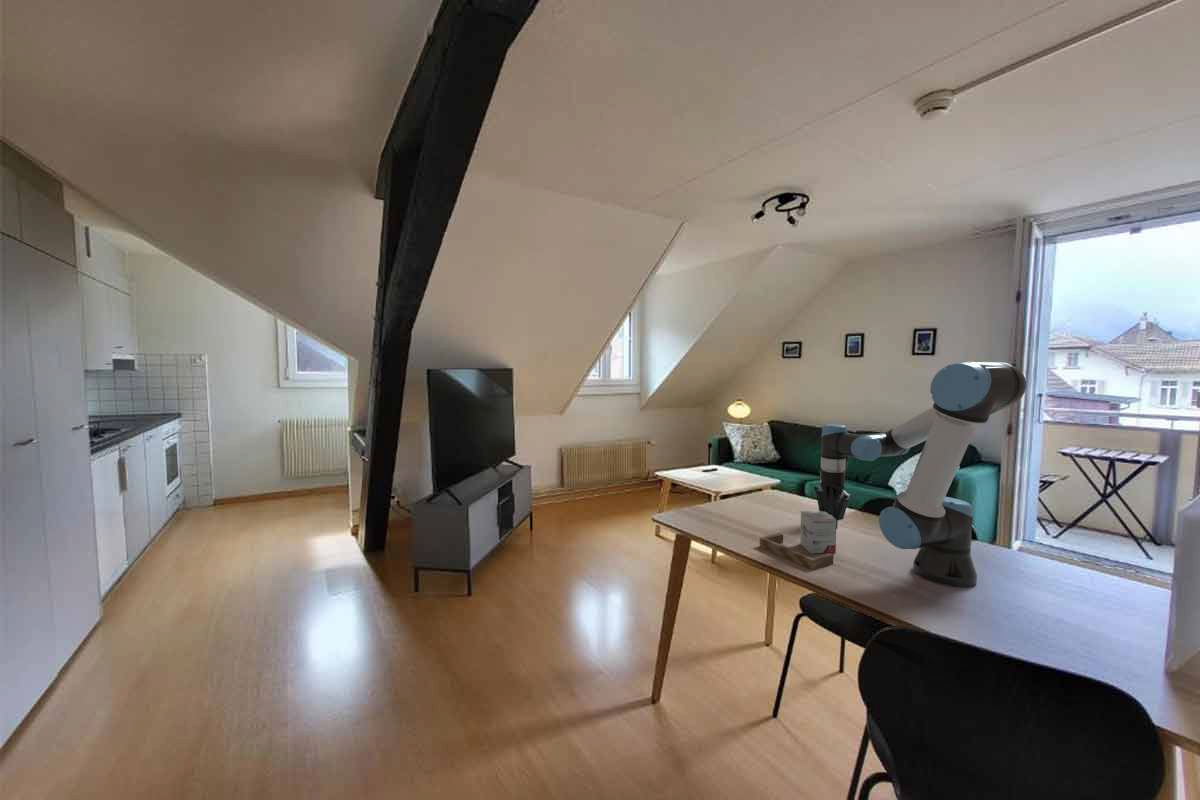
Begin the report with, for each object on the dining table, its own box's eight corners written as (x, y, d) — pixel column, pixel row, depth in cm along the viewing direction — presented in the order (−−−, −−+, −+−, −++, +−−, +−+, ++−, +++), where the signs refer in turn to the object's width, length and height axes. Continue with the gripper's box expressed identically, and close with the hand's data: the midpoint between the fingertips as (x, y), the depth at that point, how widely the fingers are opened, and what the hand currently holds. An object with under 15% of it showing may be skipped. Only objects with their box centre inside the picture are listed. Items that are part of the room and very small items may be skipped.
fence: (833, 563, 148) (833, 554, 148) (812, 570, 144) (812, 560, 144) (779, 541, 167) (779, 533, 167) (759, 546, 163) (759, 537, 162)
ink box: (824, 543, 165) (825, 510, 164) (836, 553, 156) (837, 518, 155) (799, 543, 165) (800, 510, 164) (809, 553, 156) (810, 518, 155)
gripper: (858, 472, 157) (855, 542, 159) (823, 465, 169) (821, 529, 171) (842, 475, 154) (840, 546, 156) (808, 467, 166) (806, 533, 168)
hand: (830, 537), depth 163 cm, fingers closed
